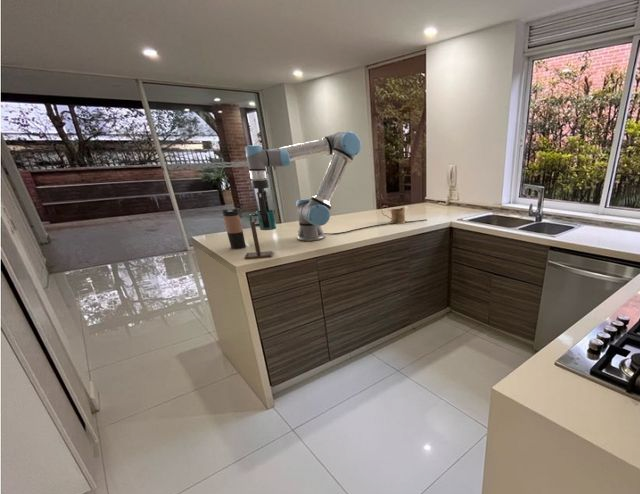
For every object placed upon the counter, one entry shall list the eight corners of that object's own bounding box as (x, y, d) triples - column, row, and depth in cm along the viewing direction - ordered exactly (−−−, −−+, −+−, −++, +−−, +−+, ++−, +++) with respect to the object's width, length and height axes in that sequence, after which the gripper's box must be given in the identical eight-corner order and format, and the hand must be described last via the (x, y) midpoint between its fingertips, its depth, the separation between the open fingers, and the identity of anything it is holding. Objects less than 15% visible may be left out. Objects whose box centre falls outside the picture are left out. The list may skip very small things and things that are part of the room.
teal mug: (276, 226, 181) (274, 209, 178) (275, 229, 174) (272, 212, 171) (252, 227, 178) (248, 210, 174) (250, 231, 171) (246, 213, 167)
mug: (382, 221, 253) (381, 204, 248) (405, 220, 254) (405, 204, 249) (382, 224, 242) (381, 207, 237) (406, 223, 244) (406, 206, 239)
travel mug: (239, 249, 183) (231, 211, 174) (227, 248, 184) (218, 211, 176) (249, 245, 189) (241, 209, 181) (237, 244, 191) (228, 208, 183)
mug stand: (273, 249, 182) (267, 217, 175) (271, 257, 170) (264, 222, 163) (249, 251, 179) (242, 218, 171) (245, 259, 167) (237, 223, 160)
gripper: (254, 178, 175) (262, 222, 184) (247, 181, 157) (257, 230, 166) (269, 177, 177) (277, 221, 186) (265, 181, 159) (273, 229, 168)
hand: (267, 225), depth 176 cm, fingers closed on teal mug, 8 cm apart
